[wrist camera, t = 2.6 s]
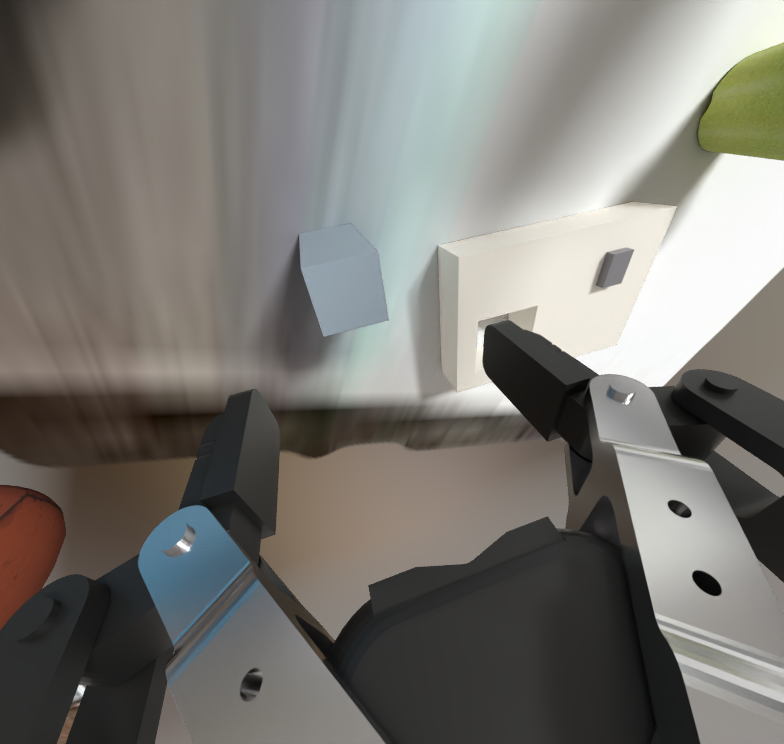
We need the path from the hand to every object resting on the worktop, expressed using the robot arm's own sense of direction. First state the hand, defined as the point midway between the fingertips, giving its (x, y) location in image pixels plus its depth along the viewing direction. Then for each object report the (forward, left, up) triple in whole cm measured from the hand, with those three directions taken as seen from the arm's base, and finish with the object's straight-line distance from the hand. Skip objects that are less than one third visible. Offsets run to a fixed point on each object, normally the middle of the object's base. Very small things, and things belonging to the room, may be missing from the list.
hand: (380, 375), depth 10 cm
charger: (0, 0, -16) cm, 16 cm away
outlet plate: (+8, +19, -16) cm, 26 cm away
